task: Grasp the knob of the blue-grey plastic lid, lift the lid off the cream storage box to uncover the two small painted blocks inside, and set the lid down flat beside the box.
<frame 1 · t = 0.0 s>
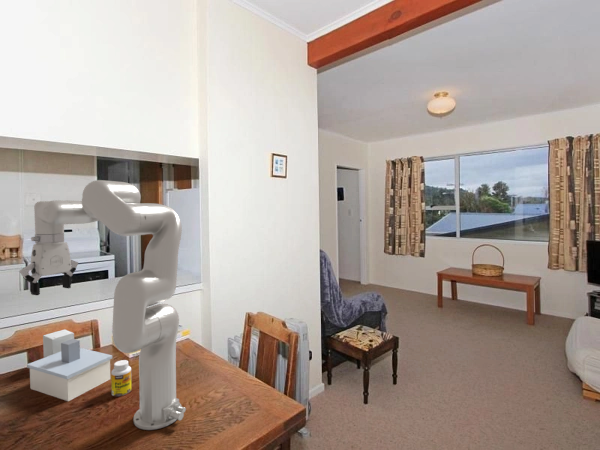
hand: (51, 291, 110), 31 cm above the table, tool pointing down, fingers open, 9 cm apart
supplement box: (59, 368, 122), on the table
sage block: (82, 384, 109), point 1 cm above the table, touching storage box
lid: (71, 362, 109), point 8 cm above the table, touching storage box
terracotta block: (58, 384, 109), point 1 cm above the table, touching storage box
supplement bottle: (121, 395, 105), on the table
storage box: (71, 386, 110), on the table
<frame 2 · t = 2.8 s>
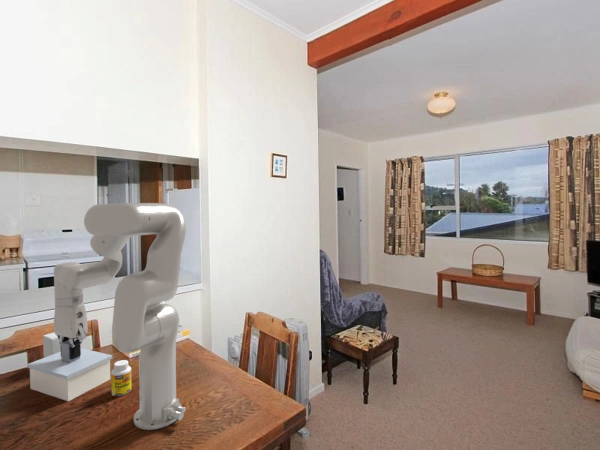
hand: (70, 355, 109), 10 cm above the table, tool pointing down, fingers closed on lid, 3 cm apart
lid: (71, 362, 109), point 8 cm above the table, touching gripper, storage box
everything else where it was.
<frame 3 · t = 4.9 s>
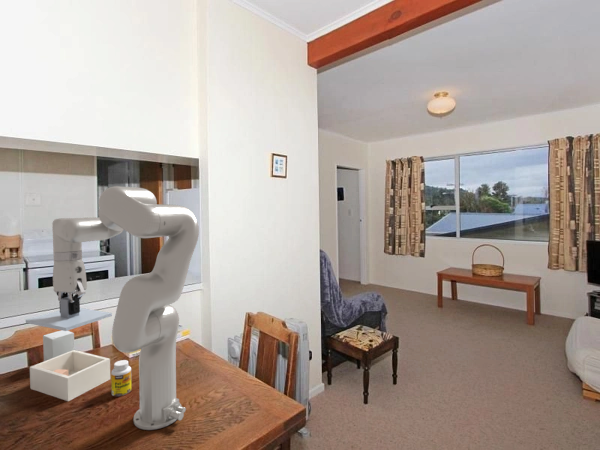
hand: (69, 312, 108), 25 cm above the table, tool pointing down, fingers closed on lid, 3 cm apart
lid: (70, 319, 108), point 22 cm above the table, touching gripper
everything else where it was.
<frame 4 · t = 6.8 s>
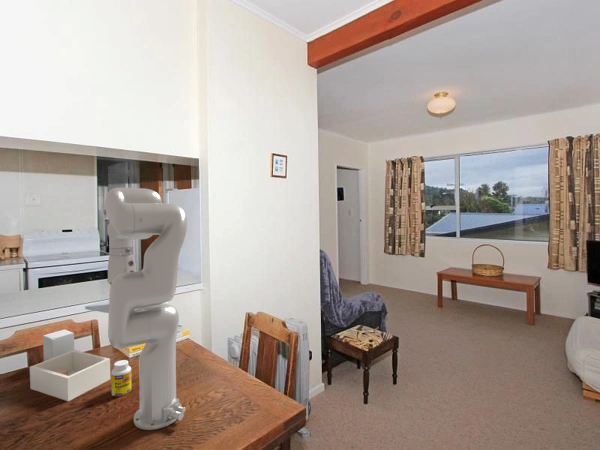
hand: (122, 300, 124), 24 cm above the table, tool pointing down, fingers closed on lid, 3 cm apart
lid: (122, 306, 124), point 22 cm above the table, touching gripper
everything else where it was.
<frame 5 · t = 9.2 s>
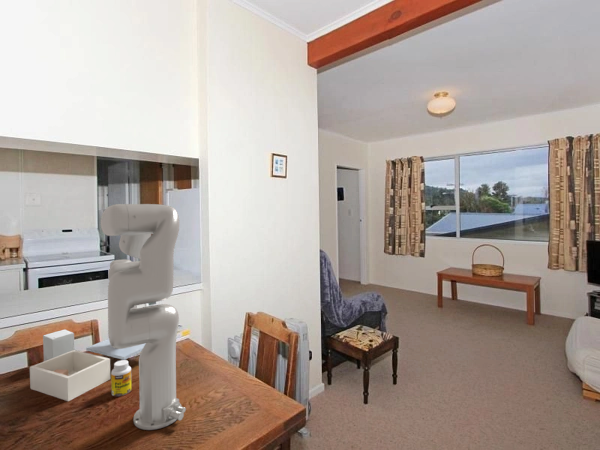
hand: (122, 340, 125), 9 cm above the table, tool pointing down, fingers closed on lid, 3 cm apart
lid: (123, 346, 125), point 7 cm above the table, touching gripper
everything else where it was.
when the fingers open (5 cm above the table, at t = 10.9 s): lid drops 3 cm, on the table.
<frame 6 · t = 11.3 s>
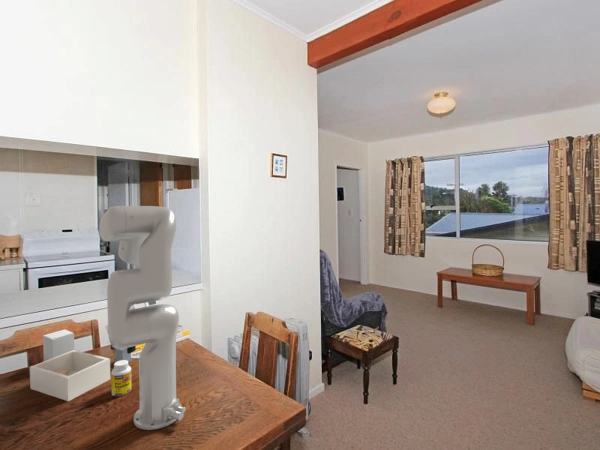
hand: (123, 349, 125), 5 cm above the table, tool pointing down, fingers open, 7 cm apart
lid: (123, 365, 125), on the table
everything else where it was.
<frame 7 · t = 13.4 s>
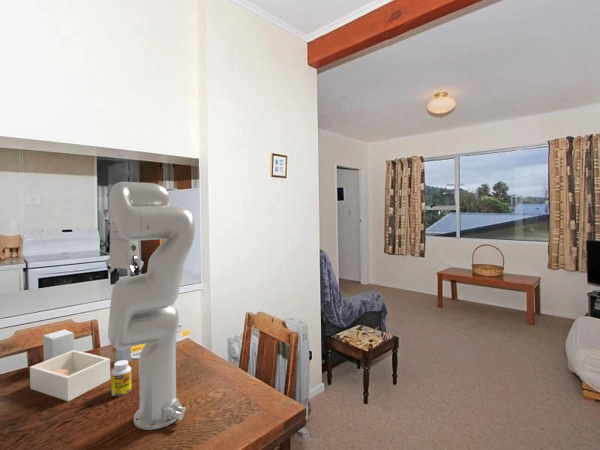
hand: (124, 284, 119), 31 cm above the table, tool pointing down, fingers open, 9 cm apart
nothing on the table moved.
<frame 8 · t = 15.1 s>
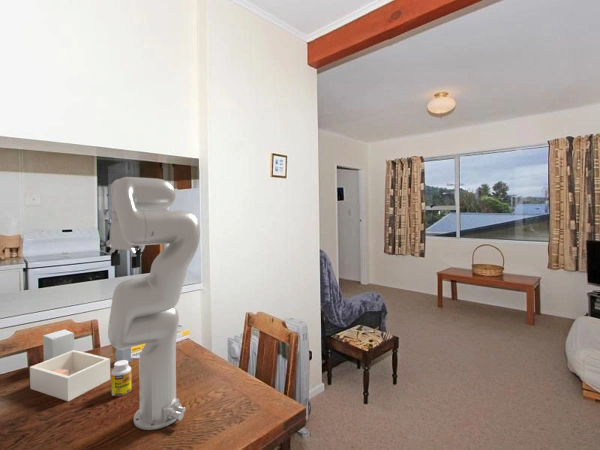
hand: (125, 266, 116), 38 cm above the table, tool pointing down, fingers open, 9 cm apart
nothing on the table moved.
at the end: lid inside the target area (0.1 cm from its centre), on the table; lid tilted 0°; lid touching table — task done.
